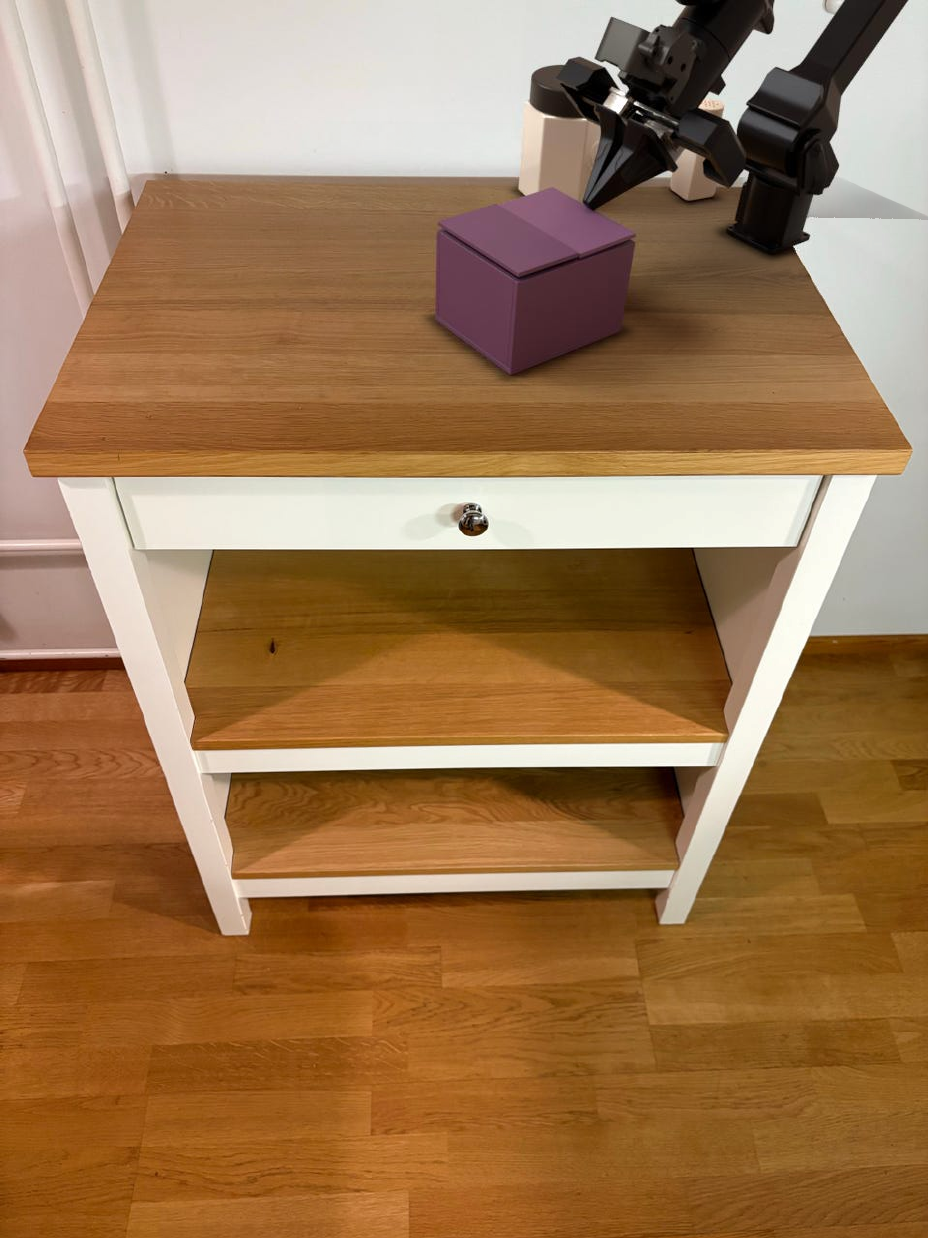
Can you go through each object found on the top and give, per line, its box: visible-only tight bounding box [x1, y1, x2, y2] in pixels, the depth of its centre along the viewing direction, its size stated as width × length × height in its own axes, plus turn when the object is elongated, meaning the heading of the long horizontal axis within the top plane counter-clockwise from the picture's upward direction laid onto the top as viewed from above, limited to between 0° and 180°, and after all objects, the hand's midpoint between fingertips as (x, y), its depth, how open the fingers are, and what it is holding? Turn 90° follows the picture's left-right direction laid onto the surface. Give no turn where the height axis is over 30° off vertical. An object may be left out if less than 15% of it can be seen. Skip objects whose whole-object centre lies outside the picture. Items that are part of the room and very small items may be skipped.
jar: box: [518, 64, 601, 203], centre depth 105 cm, size 9×8×12 cm
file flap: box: [498, 187, 637, 258], centre depth 85 cm, size 6×11×1 cm, turn 37°
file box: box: [434, 203, 636, 376], centre depth 87 cm, size 13×11×9 cm
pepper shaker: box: [669, 98, 726, 201], centre depth 108 cm, size 4×4×10 cm
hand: (587, 206), depth 85 cm, fingers closed
